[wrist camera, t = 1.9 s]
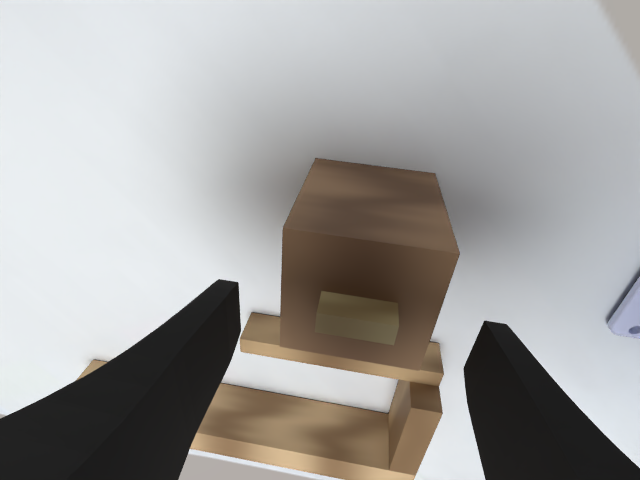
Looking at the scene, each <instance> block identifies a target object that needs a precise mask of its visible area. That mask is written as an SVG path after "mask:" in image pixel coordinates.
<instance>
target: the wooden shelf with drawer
mask: <svg viewBox="0 0 640 480" xmlns="http://www.w3.org/2000/svg"><path fill="white" fill-rule="evenodd" d="M240 350H241V352H245V353H251V354H256V355H262V356H268V357H273V358H279V359H285V360H290V361H296V362H302V363H308V364H313V365H319V366H325V367H330V368H336V369H342V370H347V371H353V372H359V373H365V374H370V375H376V376H382V377H387V378H393V379H399V381H398V384H397V387H396V390H395V394H394V397H393V400H392V404H391V407H390V410H389V414H386V413H381V412H375V411H370V410H364V409H359V408H354V407H348V406H343V405H337V404H332V403H326V402H321V401H315V400H310V399H305V398H299V397H294V396H288V395H283V394H277V393H272V392H266V391H261V390H256V389H250V388H245V387H239V386H234V385H228V384H223V383H220V385H219V387H218V389H217V391H216V393H215V395H214V397H213V400H212V402H211V404H210V406H209V408H208V410H207V412H206V414H205V416H204V418H203V420H202V422H201V424H200V426H199V429H198V431H197V433H196V435H195V437H194V440H193V442H192V444H191V447H190V449H195V450H200V451H205V452H210V453H215V454H220V455H225V456H230V457H235V458H240V459H245V460H250V461H254V462H259V463H264V464H269V465H274V466H279V467H284V468H289V469H294V470H299V471H304V472H309V473H314V474H319V475H324V476H329V477H334V478H339V479H344V480H414V478H415V476H416V473H417V471H418V469H419V466H420V464H421V462H422V460H423V457H424V455H425V453H426V450H427V448H428V446H429V444H430V441H431V439H432V437H433V434H434V432H435V430H436V428H437V425H438V423H439V421H440V418H441V416H442V414H443V412H442V405H441V398H440V391H439V385H440V382H441V380H442V377H443V375H444V372H443V366H442V360H441V353H440V347H439V343H433V342H429V345H428V348H427V351H426V353H425V356H424V359H423V362H422V365H421V368H420V371H416V370H410V369H405V368H399V367H393V366H387V365H382V364H376V363H370V362H364V361H358V360H353V359H347V358H341V357H335V356H330V355H324V354H318V353H312V352H306V351H301V350H295V349H289V348H283V347H280V317H276V316H270V315H264V314H258V313H252V312H251V315H250V317H249V319H248V321H247V324H246V326H245V328H244V331H243V333H242V335H241V337H240ZM106 363H107V362H103V361H98V360H93V361H92V362H91V363H90V364H89V366H88V367H87V368H86V369H85V370H84V372H83V373H82V374H81V375H80V376H79V378H78V379H80V378H82V377H84V376H86V375H87V374H89V373H91V372H93V371H94V370H96V369H98V368H99V367H101V366H103V365H104V364H106ZM78 379H77V380H78Z"/></svg>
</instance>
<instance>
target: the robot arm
mask: <svg viewBox="0 0 640 480" xmlns="http://www.w3.org/2000/svg"><path fill="white" fill-rule="evenodd" d="M634 326H635V327H634ZM608 327H609V329H610V330H611V332H612V333H613V334H616V335H620V336H626V337H633V338H639V339H640V277H639V278H638V280H637V281H636V282H635V284H634V285H633V287H632V288H631V290H630V291H629V293H628V294H627V296H626V297H625V298H624V300H623V301H622V303H621V304H620V306H619V307H618V309H617V310H616V311H615V313H614V314H613V316H612V317H611V319H610V320H609V322H608ZM631 327H632V328H631ZM240 332H241V323H240V305H239V286H238V282H233V281H226V280H220V279H219V280H217V281H216V282H215V283H213V284H212V285H211V286H210V287H208V288H207V289H206V290H205V291H204V292H202V293H201V294H200V295H199V296H198V297H196V298H195V299H194V300H193V301H191V302H190V303H189V304H188V305H187V306H185V307H184V308H183V309H182V310H180V311H179V312H178V313H177V314H175V315H174V316H173V317H171V318H170V319H169V320H168V321H166V322H165V323H164V324H162V325H161V326H160V327H159V328H157V329H156V330H154V331H153V332H152V333H150V334H149V335H147V336H146V337H145V338H143V339H142V340H140V341H139V342H138V343H136V344H135V345H133V346H132V347H131V348H129V349H128V350H126V351H125V352H123V353H122V354H120V355H118V356H117V357H115V358H114V359H112V360H111V361H109V362H107V363H106V364H104V365H103V366H101V367H99V368H98V369H96V370H94V371H93V372H91V373H89V374H87V375H86V376H84V377H82V378H80V379H78V380H76V381H75V382H73V383H71V384H69V385H67V386H65V387H63V388H62V389H60V390H58V391H56V392H54V393H52V394H50V395H49V396H47V397H45V398H43V399H41V400H39V401H37V402H35V403H33V404H31V405H29V406H26V407H24V408H22V409H20V410H18V411H16V412H14V413H12V414H10V415H7V416H5V417H3V418H1V419H0V480H178V479H179V476H180V473H181V471H182V468H183V465H184V462H185V460H186V457H187V454H188V452H189V449H190V447H191V444H192V442H193V440H194V437H195V435H196V433H197V431H198V429H199V426H200V424H201V422H202V420H203V418H204V416H205V414H206V412H207V410H208V408H209V406H210V404H211V402H212V400H213V397H214V395H215V393H216V391H217V389H218V387H219V385H220V383H221V381H222V379H223V377H224V375H225V372H226V370H227V368H228V366H229V364H230V362H231V359H232V356H233V353H234V350H235V347H236V344H237V341H238V338H239V335H240ZM464 378H465V388H466V396H467V404H468V408H469V413H470V417H471V421H472V426H473V430H474V434H475V438H476V442H477V446H478V450H479V455H480V459H481V463H482V467H483V471H484V475H485V479H486V480H640V468H639V467H638V466H637V465H636V464H634V463H633V462H632V461H631V460H630V459H629V458H628V457H627V456H626V455H625V454H624V453H623V452H622V451H621V450H620V449H619V448H617V447H616V446H615V445H614V444H613V443H612V442H611V441H610V440H609V439H608V438H607V437H606V436H605V435H604V434H603V433H602V432H601V431H600V430H599V428H598V427H597V426H596V425H595V424H594V423H593V422H592V421H591V420H590V419H589V418H588V417H587V416H586V415H585V414H584V413H583V412H582V411H581V410H580V409H579V407H578V406H577V405H576V404H575V403H574V402H573V401H572V400H571V399H570V398H569V397H568V395H567V394H566V393H565V392H564V391H563V390H562V389H561V388H560V386H559V385H558V384H557V383H556V382H555V381H554V380H553V378H552V377H551V376H550V375H549V374H548V373H547V371H546V370H545V369H544V368H543V367H542V366H541V364H540V363H539V362H538V361H537V360H536V358H535V357H534V356H533V355H532V354H531V352H530V351H529V350H528V349H527V348H526V346H525V345H524V344H523V343H522V342H521V340H520V339H519V338H518V337H517V336H516V334H515V333H514V332H513V331H512V330H511V329H510V328H509V326H508V325H507V324H502V323H496V322H489V321H484V323H483V325H482V327H481V330H480V332H479V334H478V336H477V339H476V341H475V343H474V345H473V348H472V350H471V352H470V355H469V357H468V359H467V361H466V364H465V366H464Z"/></svg>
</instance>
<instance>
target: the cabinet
mask: <svg viewBox="0 0 640 480" xmlns="http://www.w3.org/2000/svg"><path fill="white" fill-rule="evenodd" d="M459 255H460V252H459V249H458V246H457V243H456V240H455V236H454V233H453V230H452V227H451V223H450V220H449V217H448V214H447V210H446V207H445V204H444V201H443V197H442V194H441V191H440V188H439V184H438V181H437V178H436V175H435V173H428V172H420V171H412V170H404V169H396V168H389V167H381V166H373V165H365V164H357V163H350V162H342V161H334V160H326V159H318V158H315V161H314V163H313V165H312V167H311V169H310V171H309V173H308V175H307V177H306V180H305V182H304V184H303V186H302V188H301V190H300V192H299V194H298V197H297V199H296V201H295V203H294V205H293V207H292V209H291V211H290V214H289V216H288V218H287V220H286V222H285V224H284V226H283V238H282V275H281V312H280V347H283V348H289V349H295V350H301V351H306V352H312V353H318V354H324V355H330V356H335V357H341V358H347V359H353V360H358V361H364V362H370V363H376V364H382V365H387V366H393V367H399V368H405V369H410V370H416V371H420V368H421V365H422V362H423V359H424V356H425V353H426V351H427V348H428V345H429V342H430V339H431V336H432V333H433V330H434V327H435V324H436V321H437V319H438V316H439V313H440V310H441V307H442V304H443V301H444V298H445V295H446V292H447V290H448V287H449V284H450V281H451V278H452V275H453V272H454V269H455V266H456V263H457V260H458V258H459Z"/></svg>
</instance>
